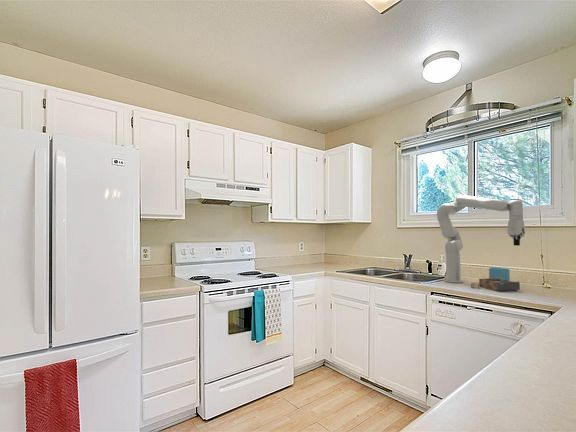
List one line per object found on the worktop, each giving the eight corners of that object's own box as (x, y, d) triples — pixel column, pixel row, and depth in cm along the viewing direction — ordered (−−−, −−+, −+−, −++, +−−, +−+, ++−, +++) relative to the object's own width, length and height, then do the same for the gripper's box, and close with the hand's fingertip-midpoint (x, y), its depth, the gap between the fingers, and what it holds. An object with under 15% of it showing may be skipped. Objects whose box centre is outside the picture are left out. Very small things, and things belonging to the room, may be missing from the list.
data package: (509, 284, 222) (509, 268, 222) (509, 285, 218) (508, 268, 219) (489, 283, 229) (489, 266, 230) (489, 283, 226) (488, 267, 226)
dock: (517, 290, 200) (516, 282, 200) (497, 291, 199) (496, 282, 199) (498, 286, 216) (497, 278, 216) (479, 286, 215) (479, 278, 215)
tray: (519, 289, 199) (519, 282, 199) (498, 290, 197) (498, 282, 197) (500, 285, 215) (499, 277, 215) (480, 285, 213) (479, 278, 214)
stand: (469, 287, 212) (469, 282, 212) (476, 287, 213) (475, 282, 213) (474, 288, 208) (474, 283, 208) (481, 288, 208) (480, 283, 208)
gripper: (502, 218, 217) (502, 244, 216) (520, 218, 202) (521, 246, 201) (512, 218, 218) (512, 244, 217) (530, 218, 203) (531, 246, 202)
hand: (516, 245), depth 209 cm, fingers closed
